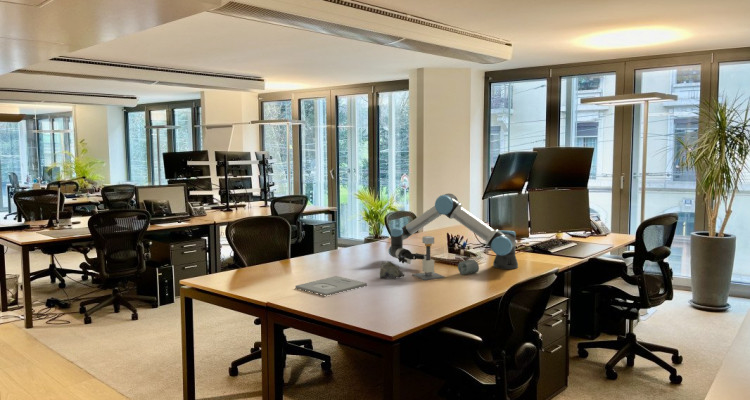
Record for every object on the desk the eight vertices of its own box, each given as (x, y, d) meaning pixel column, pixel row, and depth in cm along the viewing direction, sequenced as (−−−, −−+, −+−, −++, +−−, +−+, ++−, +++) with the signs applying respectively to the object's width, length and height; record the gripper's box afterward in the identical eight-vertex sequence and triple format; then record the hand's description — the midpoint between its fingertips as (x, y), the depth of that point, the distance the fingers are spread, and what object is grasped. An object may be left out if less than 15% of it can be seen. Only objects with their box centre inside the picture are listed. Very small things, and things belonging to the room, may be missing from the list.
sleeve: (422, 271, 333) (422, 259, 332) (429, 270, 335) (429, 258, 334) (426, 272, 328) (426, 260, 327) (434, 271, 330) (434, 260, 329)
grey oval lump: (464, 271, 329) (463, 255, 333) (455, 276, 337) (453, 260, 341) (483, 274, 335) (481, 258, 339) (473, 279, 343) (471, 263, 347)
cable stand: (411, 275, 335) (412, 236, 333) (432, 272, 341) (432, 234, 338) (423, 280, 322) (423, 239, 320) (444, 277, 328) (445, 237, 326)
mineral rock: (405, 279, 325) (405, 262, 324) (391, 282, 319) (391, 264, 318) (391, 275, 335) (391, 258, 334) (377, 278, 329) (376, 261, 328)
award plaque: (366, 286, 311) (366, 282, 311) (326, 297, 289) (326, 293, 289) (336, 279, 327) (336, 275, 327) (295, 289, 306) (295, 285, 305)
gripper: (420, 258, 364) (438, 265, 345) (385, 262, 354) (401, 269, 335) (421, 247, 364) (438, 252, 344) (385, 250, 353) (401, 256, 334)
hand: (420, 260), depth 340 cm, fingers open, 13 cm apart
